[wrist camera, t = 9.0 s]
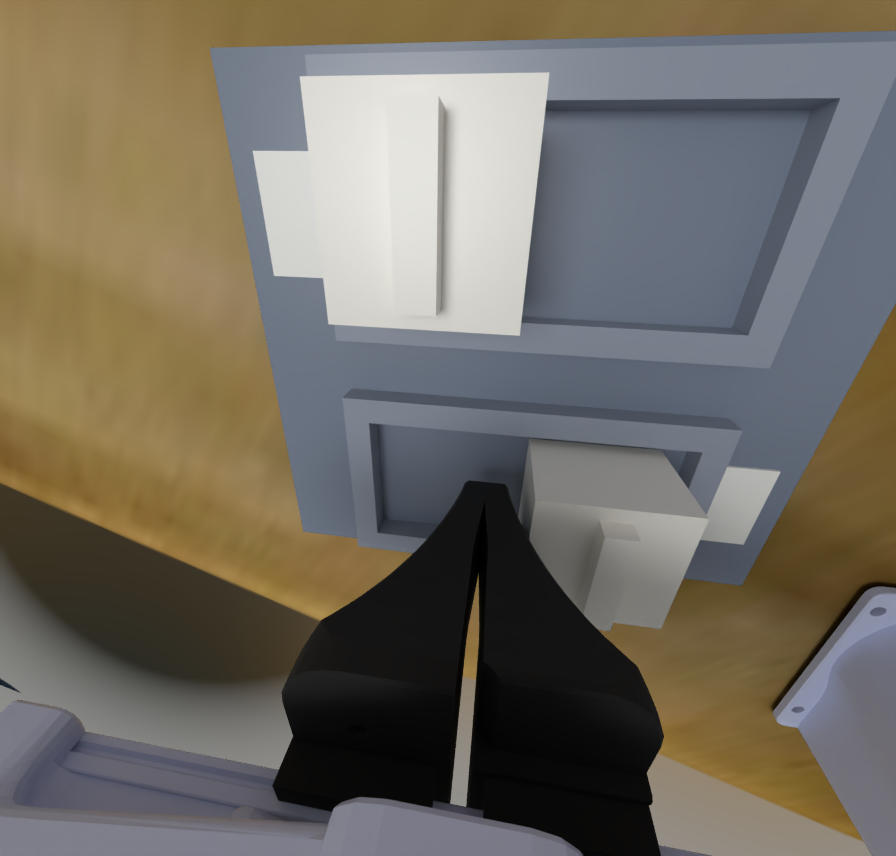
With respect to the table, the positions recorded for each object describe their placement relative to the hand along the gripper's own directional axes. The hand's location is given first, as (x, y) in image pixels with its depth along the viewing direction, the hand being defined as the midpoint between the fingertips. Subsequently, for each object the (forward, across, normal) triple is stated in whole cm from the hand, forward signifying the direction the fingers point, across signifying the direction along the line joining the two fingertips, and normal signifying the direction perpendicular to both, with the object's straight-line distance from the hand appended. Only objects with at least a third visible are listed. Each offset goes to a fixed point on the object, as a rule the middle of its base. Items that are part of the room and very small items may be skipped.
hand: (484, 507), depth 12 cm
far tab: (+1, -3, 0) cm, 3 cm away
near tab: (+1, +2, -8) cm, 8 cm away
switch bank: (+3, -1, -4) cm, 5 cm away
